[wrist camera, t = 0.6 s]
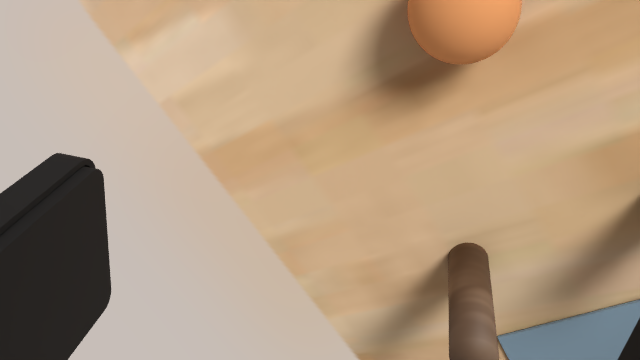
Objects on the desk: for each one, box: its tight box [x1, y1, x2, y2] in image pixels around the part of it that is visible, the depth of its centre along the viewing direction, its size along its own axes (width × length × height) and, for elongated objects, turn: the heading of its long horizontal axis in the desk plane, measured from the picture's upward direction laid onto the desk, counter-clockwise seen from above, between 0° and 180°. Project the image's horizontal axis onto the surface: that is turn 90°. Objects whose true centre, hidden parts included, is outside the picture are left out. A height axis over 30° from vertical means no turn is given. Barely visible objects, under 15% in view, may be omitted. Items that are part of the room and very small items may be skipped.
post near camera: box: [448, 243, 499, 360], centre depth 35 cm, size 3×3×9 cm
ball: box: [408, 0, 522, 64], centre depth 29 cm, size 6×6×6 cm
